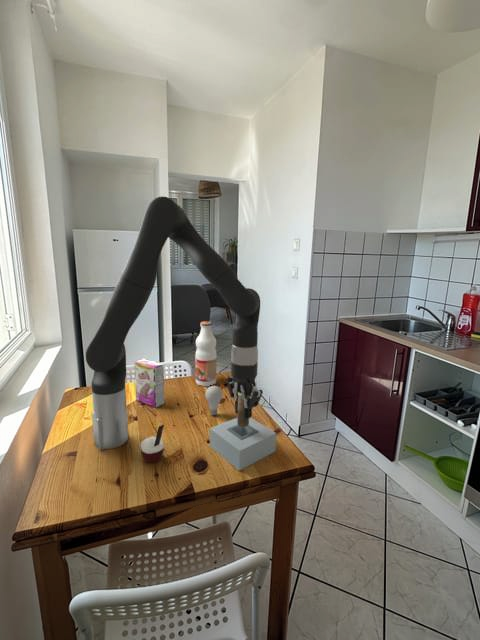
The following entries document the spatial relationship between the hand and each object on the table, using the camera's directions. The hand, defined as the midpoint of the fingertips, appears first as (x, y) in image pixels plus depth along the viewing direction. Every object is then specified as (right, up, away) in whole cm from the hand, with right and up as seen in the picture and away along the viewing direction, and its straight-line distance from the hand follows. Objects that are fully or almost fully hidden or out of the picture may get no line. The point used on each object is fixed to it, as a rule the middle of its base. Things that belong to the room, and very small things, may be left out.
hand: (243, 415), depth 93 cm
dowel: (0, -3, +1) cm, 3 cm away
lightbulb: (-10, -7, +22) cm, 25 cm away
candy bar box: (-36, -4, +30) cm, 47 cm away
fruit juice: (-16, -1, +50) cm, 53 cm away
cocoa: (-26, -12, -3) cm, 28 cm away
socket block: (0, -11, +2) cm, 11 cm away
